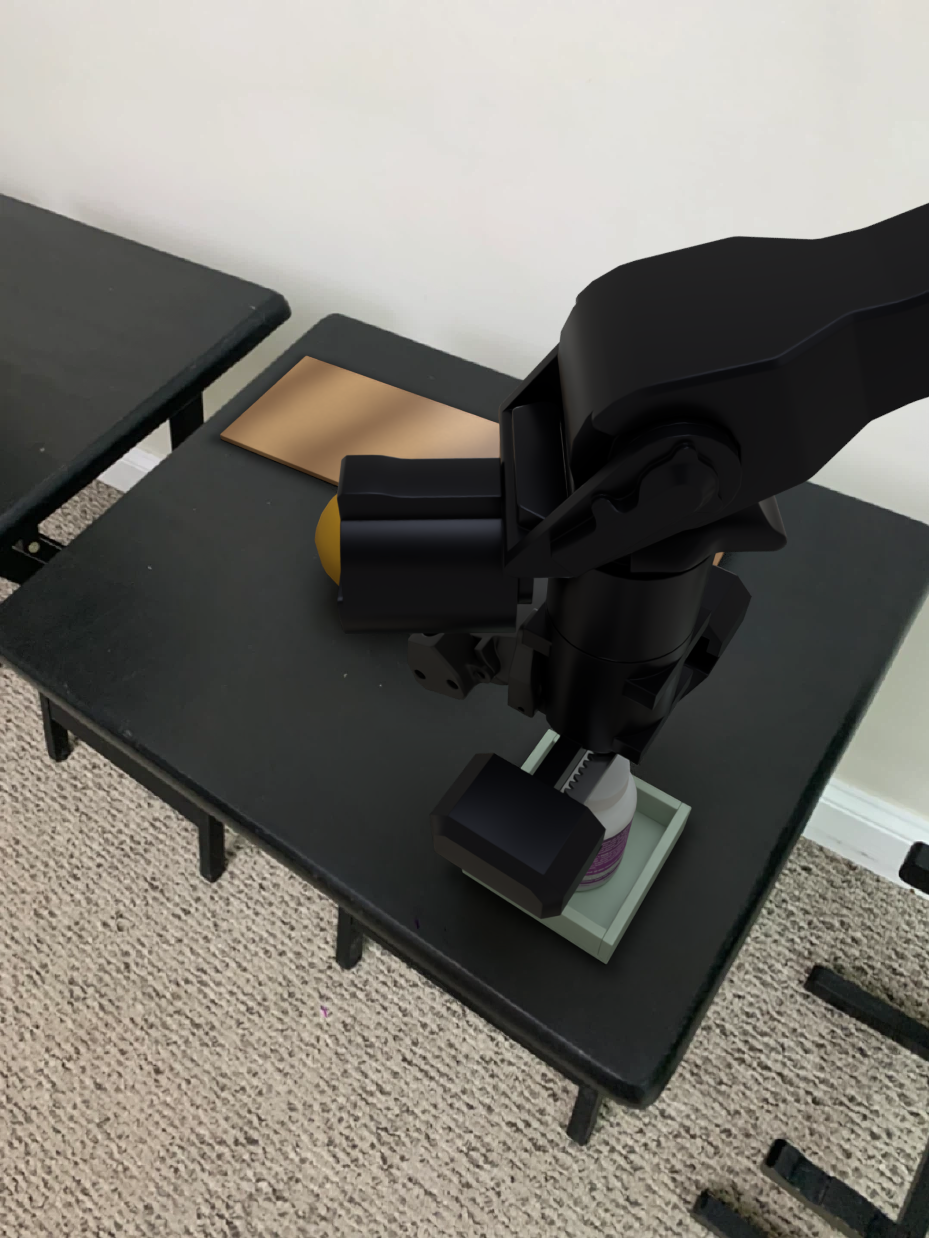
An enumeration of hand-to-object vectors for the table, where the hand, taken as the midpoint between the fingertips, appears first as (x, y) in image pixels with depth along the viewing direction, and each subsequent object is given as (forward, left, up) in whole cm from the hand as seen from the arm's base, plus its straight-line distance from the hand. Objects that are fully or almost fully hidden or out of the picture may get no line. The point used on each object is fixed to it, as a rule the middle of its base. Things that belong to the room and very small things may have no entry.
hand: (585, 795), depth 47 cm
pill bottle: (0, 0, -6) cm, 7 cm away
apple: (+23, -3, -7) cm, 24 cm away
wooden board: (+28, -15, -7) cm, 32 cm away
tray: (0, 0, -7) cm, 7 cm away
